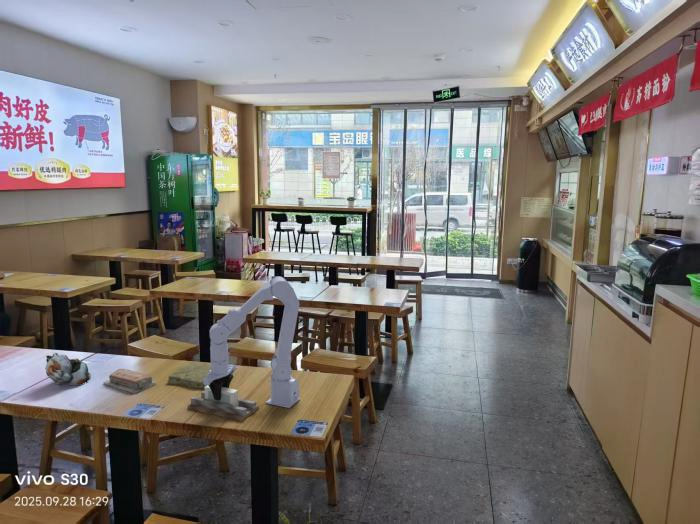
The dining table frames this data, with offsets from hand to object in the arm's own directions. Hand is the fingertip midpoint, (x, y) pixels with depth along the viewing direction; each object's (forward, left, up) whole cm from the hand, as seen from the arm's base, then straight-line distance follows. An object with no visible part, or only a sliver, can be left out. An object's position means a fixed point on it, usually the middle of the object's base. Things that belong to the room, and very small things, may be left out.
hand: (220, 397), depth 161 cm
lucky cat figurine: (+66, +6, -4) cm, 67 cm away
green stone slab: (+24, -18, -4) cm, 30 cm away
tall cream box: (0, 0, -3) cm, 3 cm away
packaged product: (+44, -2, -4) cm, 44 cm away
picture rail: (-1, 0, -4) cm, 4 cm away
